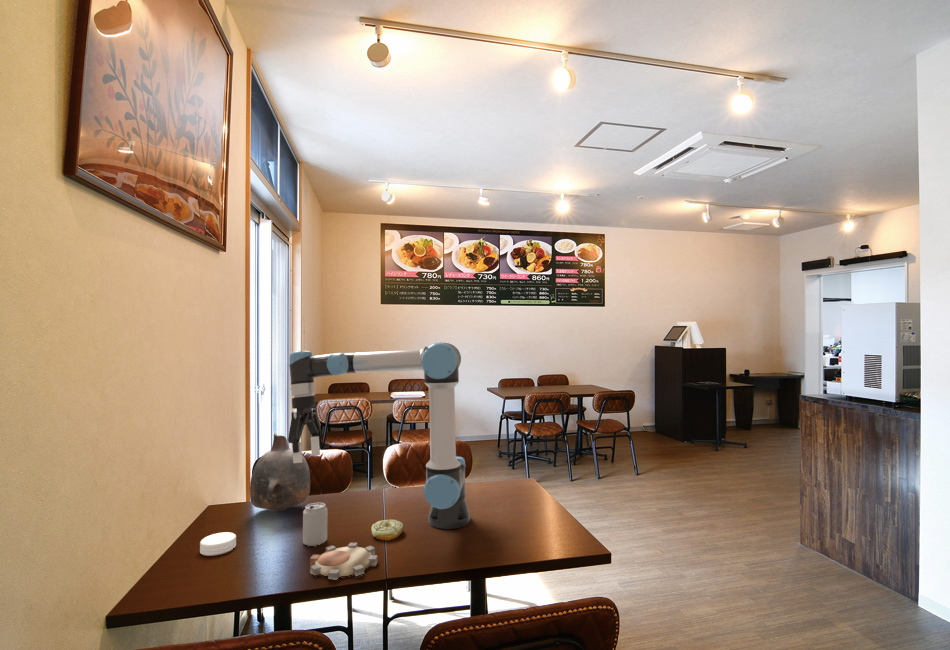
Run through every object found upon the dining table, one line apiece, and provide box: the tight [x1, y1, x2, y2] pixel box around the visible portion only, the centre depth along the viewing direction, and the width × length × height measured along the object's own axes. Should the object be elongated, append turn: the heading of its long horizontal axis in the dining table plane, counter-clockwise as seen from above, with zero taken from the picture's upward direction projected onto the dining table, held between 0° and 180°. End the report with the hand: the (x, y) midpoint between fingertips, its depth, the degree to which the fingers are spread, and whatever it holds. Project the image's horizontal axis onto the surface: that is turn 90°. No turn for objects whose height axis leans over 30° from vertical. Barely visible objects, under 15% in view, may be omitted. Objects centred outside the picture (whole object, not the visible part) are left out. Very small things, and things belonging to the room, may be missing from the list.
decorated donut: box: [370, 519, 404, 541], centre depth 154 cm, size 10×11×4 cm
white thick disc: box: [199, 531, 237, 557], centre depth 144 cm, size 10×10×4 cm
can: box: [302, 502, 328, 547], centre depth 148 cm, size 8×8×12 cm
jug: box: [249, 432, 311, 513], centre depth 176 cm, size 24×21×30 cm
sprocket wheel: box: [309, 542, 378, 581], centre depth 133 cm, size 19×19×2 cm
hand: (307, 459), depth 155 cm, fingers open, 13 cm apart
